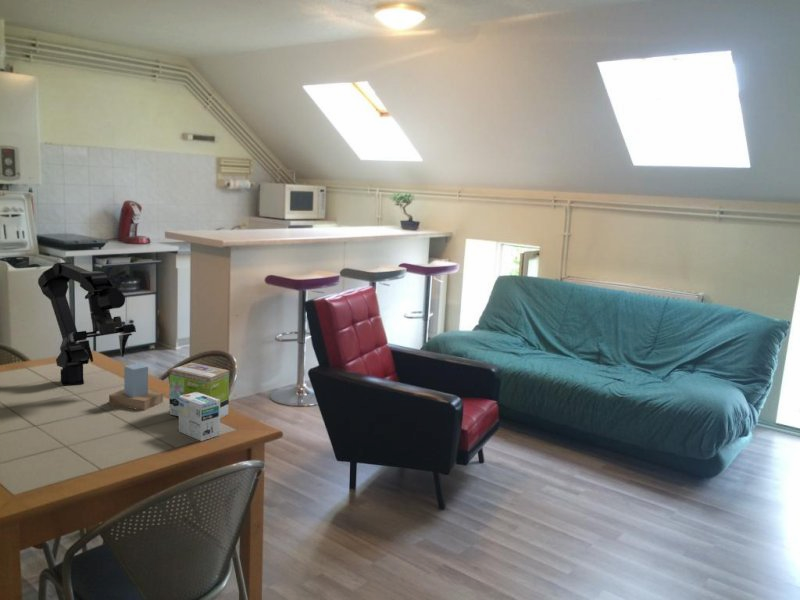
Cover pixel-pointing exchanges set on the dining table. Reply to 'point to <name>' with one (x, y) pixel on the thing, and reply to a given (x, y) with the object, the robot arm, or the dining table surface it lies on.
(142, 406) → the stack block
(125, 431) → the dining table surface
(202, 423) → the light bulb box
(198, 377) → the tea box
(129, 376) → the pillar block
